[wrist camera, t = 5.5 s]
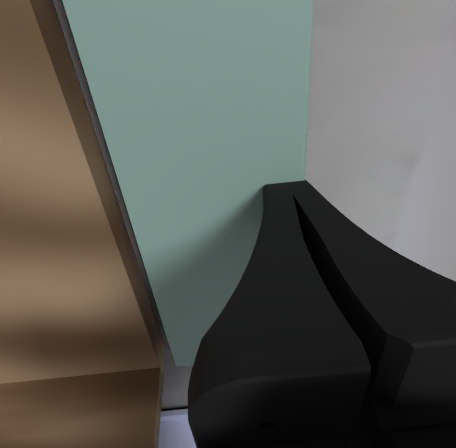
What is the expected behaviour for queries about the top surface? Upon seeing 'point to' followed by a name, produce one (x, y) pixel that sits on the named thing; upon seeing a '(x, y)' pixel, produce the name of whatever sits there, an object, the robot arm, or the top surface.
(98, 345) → the wooden drawer
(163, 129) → the green flat rectangular panel
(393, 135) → the top surface
